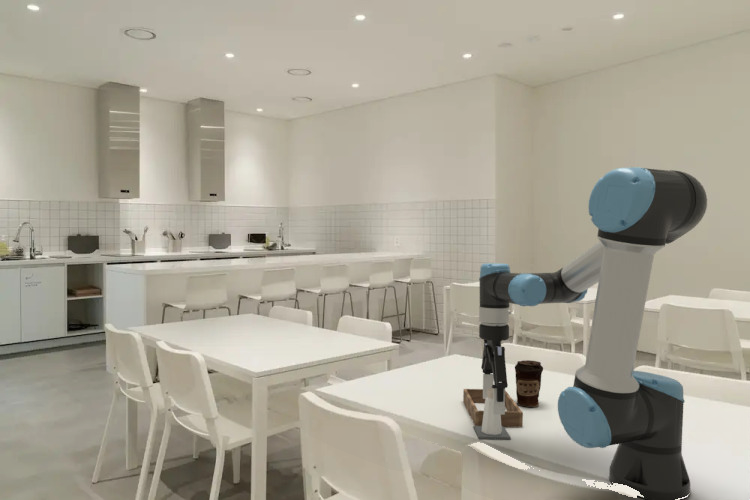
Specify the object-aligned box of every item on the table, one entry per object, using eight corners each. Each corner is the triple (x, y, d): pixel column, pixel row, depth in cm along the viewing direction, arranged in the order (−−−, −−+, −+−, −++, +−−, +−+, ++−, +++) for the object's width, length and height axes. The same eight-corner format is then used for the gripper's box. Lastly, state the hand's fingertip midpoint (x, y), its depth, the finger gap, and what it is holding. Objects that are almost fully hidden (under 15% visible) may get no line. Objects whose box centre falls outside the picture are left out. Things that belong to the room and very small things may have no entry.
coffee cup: (543, 410, 164) (544, 366, 164) (514, 408, 166) (515, 364, 166) (540, 401, 173) (542, 359, 172) (513, 399, 175) (514, 358, 174)
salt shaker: (487, 426, 148) (488, 385, 148) (506, 431, 145) (507, 389, 144) (477, 431, 144) (478, 389, 144) (496, 437, 141) (497, 393, 140)
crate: (522, 427, 150) (522, 412, 150) (475, 426, 150) (475, 411, 150) (504, 402, 171) (504, 389, 171) (463, 401, 171) (463, 388, 171)
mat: (510, 439, 141) (510, 437, 141) (478, 439, 141) (478, 436, 141) (503, 428, 149) (503, 426, 149) (473, 427, 149) (473, 425, 149)
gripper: (521, 331, 131) (520, 421, 131) (498, 317, 156) (497, 392, 156) (489, 331, 131) (488, 421, 131) (471, 316, 156) (470, 392, 156)
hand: (493, 406), depth 144 cm, fingers open, 13 cm apart
